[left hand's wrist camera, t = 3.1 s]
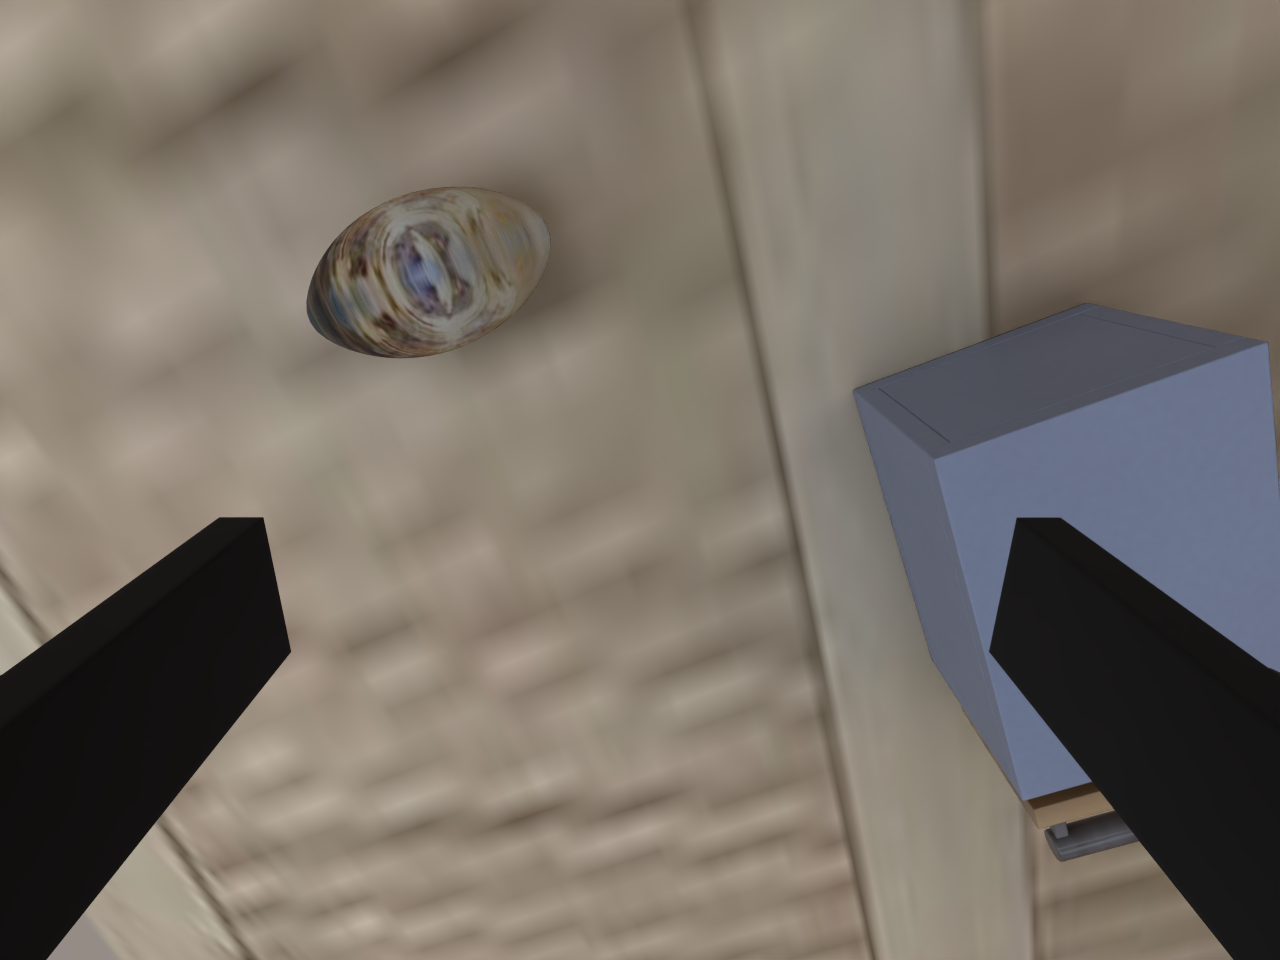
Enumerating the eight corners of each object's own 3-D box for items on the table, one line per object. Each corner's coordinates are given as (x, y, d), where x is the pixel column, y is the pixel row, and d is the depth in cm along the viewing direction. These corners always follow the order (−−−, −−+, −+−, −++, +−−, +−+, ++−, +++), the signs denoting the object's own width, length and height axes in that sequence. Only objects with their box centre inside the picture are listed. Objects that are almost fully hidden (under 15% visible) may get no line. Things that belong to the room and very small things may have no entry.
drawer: (1155, 730, 38) (1274, 851, 31) (982, 780, 40) (1058, 908, 32) (1101, 399, 32) (1236, 456, 24) (895, 472, 33) (965, 546, 26)
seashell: (528, 156, 29) (489, 139, 21) (581, 292, 31) (562, 318, 23) (324, 242, 30) (219, 253, 23) (387, 367, 32) (309, 415, 24)
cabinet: (1135, 596, 36) (1297, 724, 27) (931, 660, 38) (1023, 802, 29) (1086, 302, 31) (1269, 341, 22) (852, 389, 32) (933, 459, 23)
